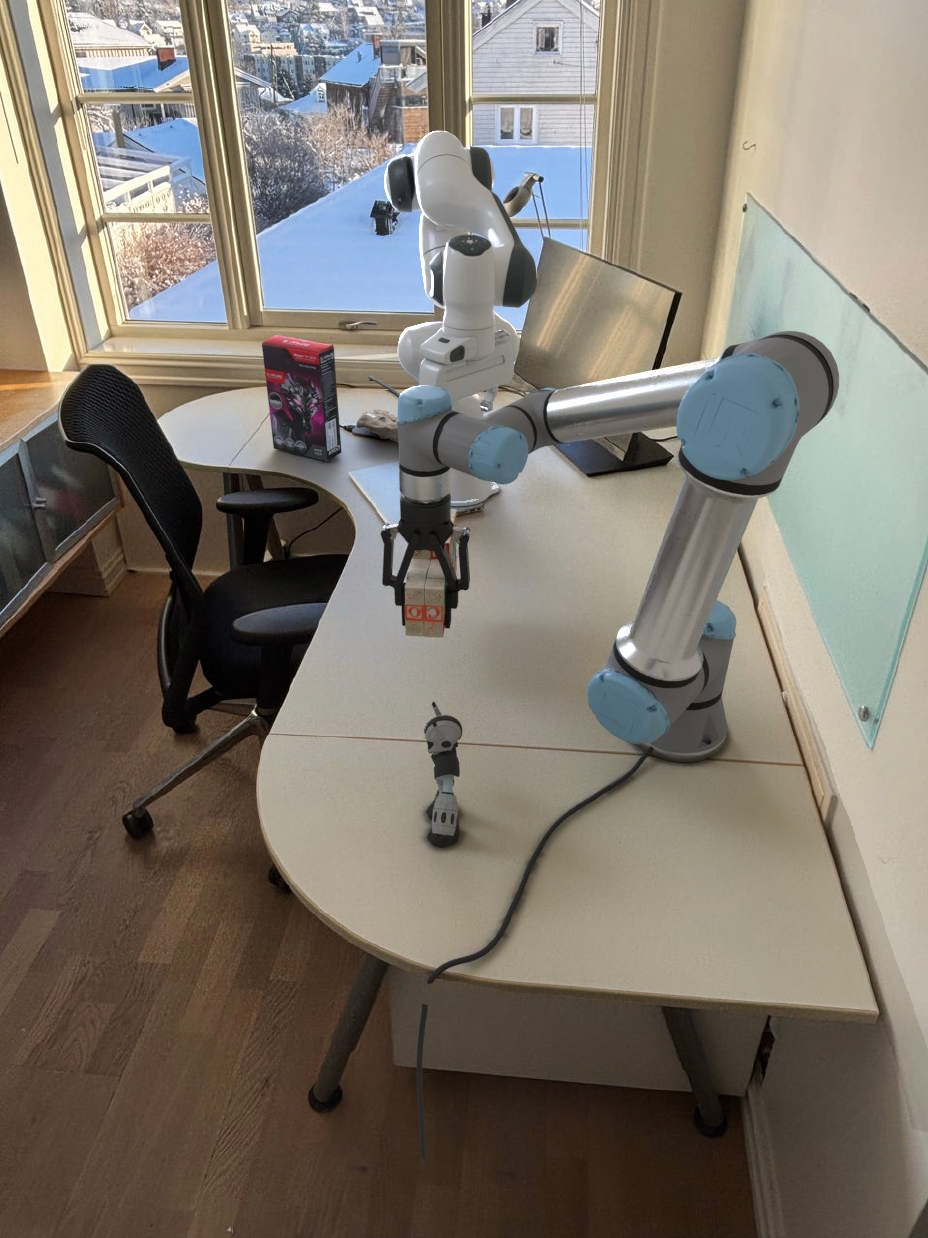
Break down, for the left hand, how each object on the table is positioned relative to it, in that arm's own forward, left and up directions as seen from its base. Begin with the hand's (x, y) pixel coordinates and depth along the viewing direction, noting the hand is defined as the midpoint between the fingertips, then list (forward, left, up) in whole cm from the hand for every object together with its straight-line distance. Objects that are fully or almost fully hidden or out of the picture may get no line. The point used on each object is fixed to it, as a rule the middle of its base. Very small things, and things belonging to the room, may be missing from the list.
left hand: (468, 417), depth 164 cm
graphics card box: (-63, -30, -32) cm, 77 cm away
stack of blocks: (+25, -10, -22) cm, 35 cm away
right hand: (+32, -12, -22) cm, 40 cm away
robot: (+66, -13, -32) cm, 75 cm away
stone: (-69, -8, -32) cm, 76 cm away
